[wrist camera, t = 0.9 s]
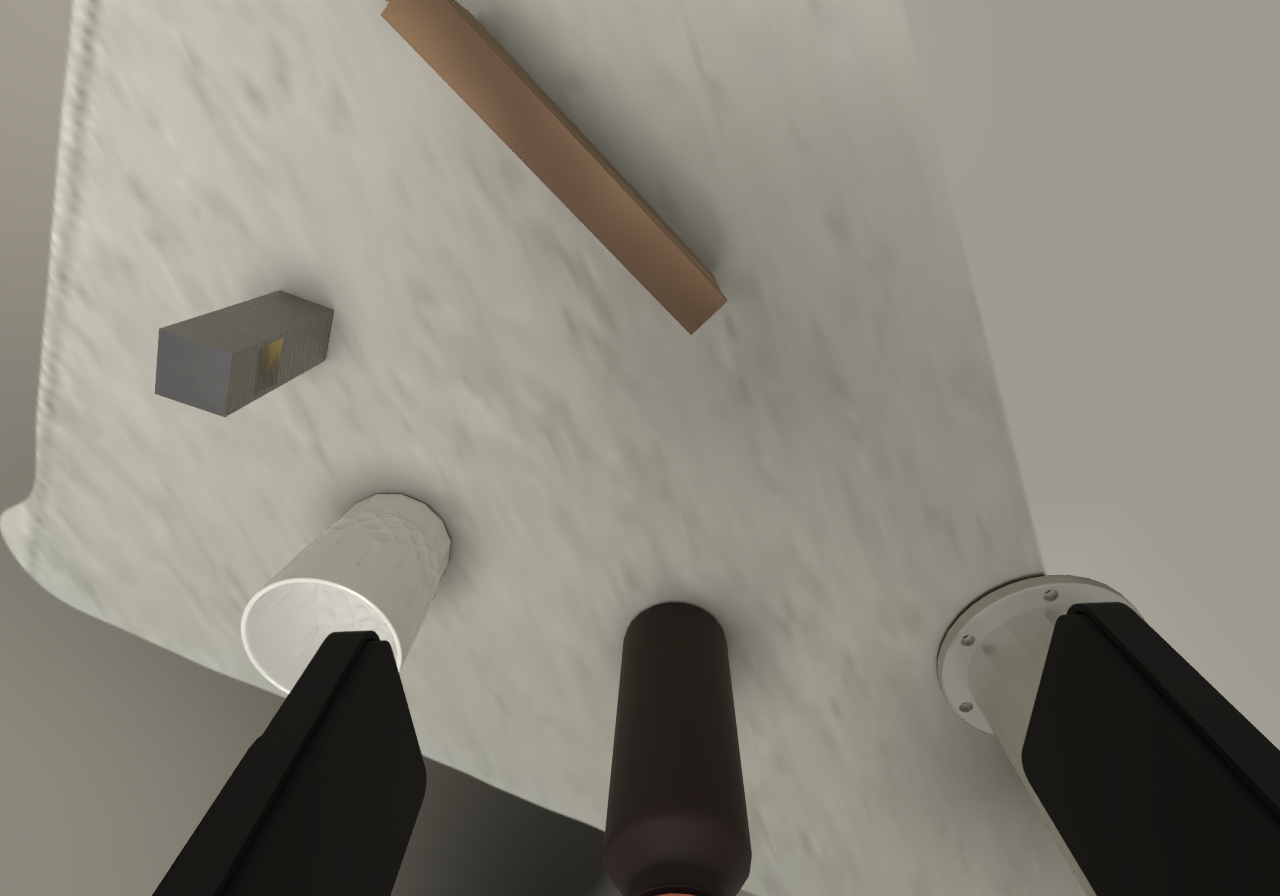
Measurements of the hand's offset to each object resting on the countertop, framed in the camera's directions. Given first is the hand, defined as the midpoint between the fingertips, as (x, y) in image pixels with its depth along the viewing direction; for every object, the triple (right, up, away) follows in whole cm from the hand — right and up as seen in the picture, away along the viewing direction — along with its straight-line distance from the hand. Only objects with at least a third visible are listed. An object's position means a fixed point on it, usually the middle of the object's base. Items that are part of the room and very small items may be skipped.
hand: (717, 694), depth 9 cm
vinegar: (+1, -9, +34) cm, 36 cm away
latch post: (-20, +10, +27) cm, 35 cm away
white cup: (-16, -2, +32) cm, 36 cm away
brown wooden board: (-4, +17, +22) cm, 28 cm away
